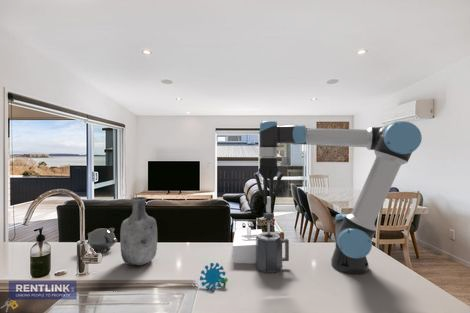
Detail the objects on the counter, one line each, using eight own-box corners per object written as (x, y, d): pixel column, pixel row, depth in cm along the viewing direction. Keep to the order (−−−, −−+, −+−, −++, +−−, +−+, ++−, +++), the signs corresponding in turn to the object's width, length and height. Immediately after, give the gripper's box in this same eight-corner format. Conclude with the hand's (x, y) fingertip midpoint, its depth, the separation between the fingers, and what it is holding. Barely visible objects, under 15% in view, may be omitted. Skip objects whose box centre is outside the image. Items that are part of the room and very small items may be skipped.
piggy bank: (111, 255, 133) (110, 232, 132) (81, 254, 133) (81, 231, 133) (121, 247, 144) (121, 226, 144) (94, 246, 145) (94, 225, 144)
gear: (194, 283, 100) (206, 258, 106) (199, 288, 104) (210, 264, 110) (220, 293, 96) (231, 267, 102) (224, 299, 100) (234, 273, 106)
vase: (112, 267, 118) (111, 200, 117) (136, 254, 133) (135, 194, 133) (143, 272, 113) (142, 202, 113) (164, 258, 128) (163, 196, 128)
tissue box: (234, 265, 121) (232, 241, 121) (236, 246, 146) (234, 226, 146) (265, 263, 120) (264, 239, 120) (262, 245, 145) (261, 224, 145)
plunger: (275, 242, 120) (275, 211, 120) (279, 248, 112) (279, 215, 112) (258, 243, 119) (258, 212, 119) (261, 249, 111) (261, 216, 111)
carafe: (284, 261, 122) (284, 231, 122) (291, 272, 111) (291, 239, 111) (254, 263, 121) (254, 232, 120) (258, 274, 110) (258, 240, 110)
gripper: (280, 157, 119) (280, 209, 120) (252, 157, 118) (252, 210, 118) (285, 157, 112) (285, 213, 112) (254, 157, 111) (254, 214, 111)
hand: (268, 211), depth 115 cm, fingers closed
